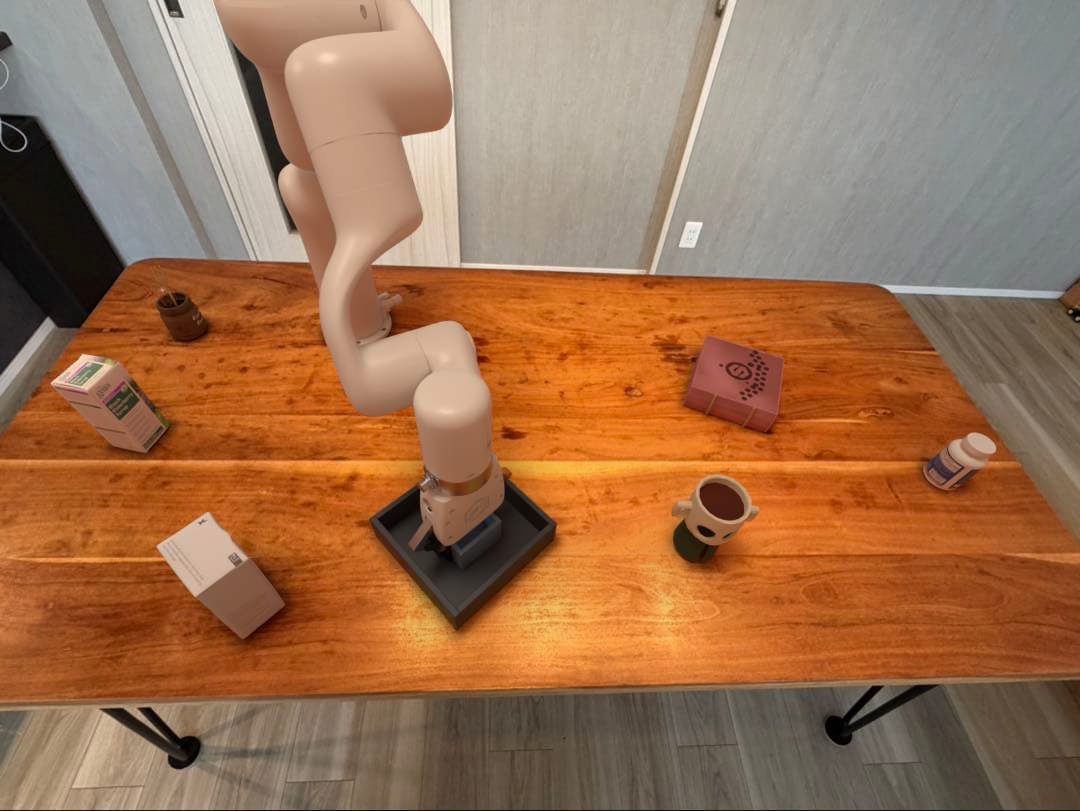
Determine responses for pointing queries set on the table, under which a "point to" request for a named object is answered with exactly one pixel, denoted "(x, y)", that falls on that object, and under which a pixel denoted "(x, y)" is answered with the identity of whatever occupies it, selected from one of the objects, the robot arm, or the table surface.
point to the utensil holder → (179, 312)
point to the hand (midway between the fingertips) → (465, 534)
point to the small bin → (476, 541)
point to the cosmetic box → (221, 575)
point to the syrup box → (112, 402)
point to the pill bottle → (959, 461)
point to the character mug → (711, 516)
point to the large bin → (484, 577)
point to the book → (736, 383)
